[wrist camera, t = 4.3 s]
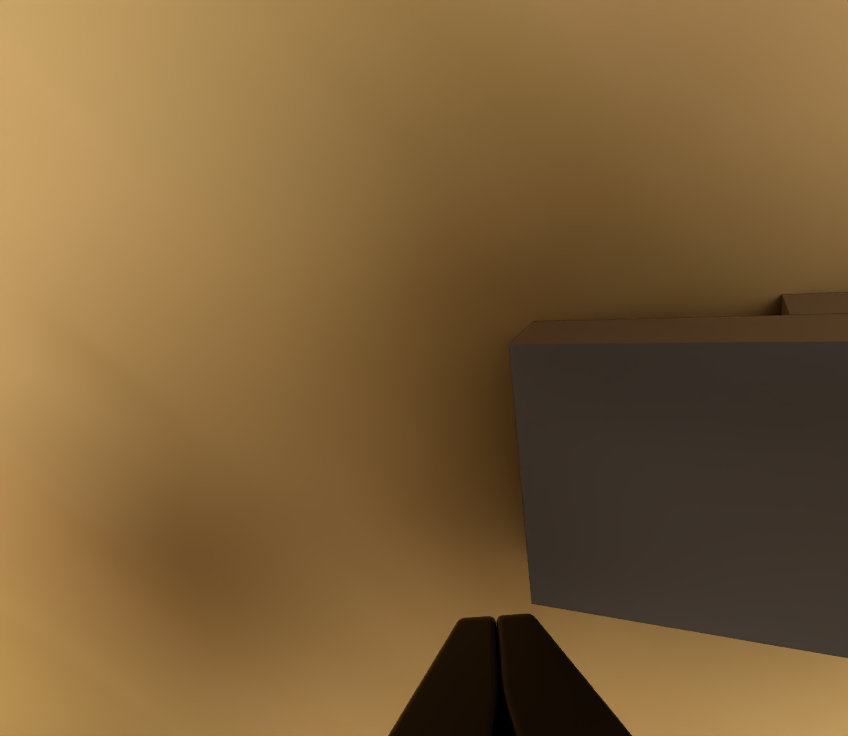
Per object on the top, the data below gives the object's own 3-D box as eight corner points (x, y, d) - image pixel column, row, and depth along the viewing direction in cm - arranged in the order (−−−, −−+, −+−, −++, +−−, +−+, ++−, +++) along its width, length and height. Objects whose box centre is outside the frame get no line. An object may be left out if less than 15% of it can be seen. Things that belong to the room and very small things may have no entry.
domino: (552, 556, 13) (1067, 626, 10) (531, 604, 12) (1124, 705, 8) (534, 321, 12) (1127, 307, 8) (508, 344, 10) (1207, 338, 7)
